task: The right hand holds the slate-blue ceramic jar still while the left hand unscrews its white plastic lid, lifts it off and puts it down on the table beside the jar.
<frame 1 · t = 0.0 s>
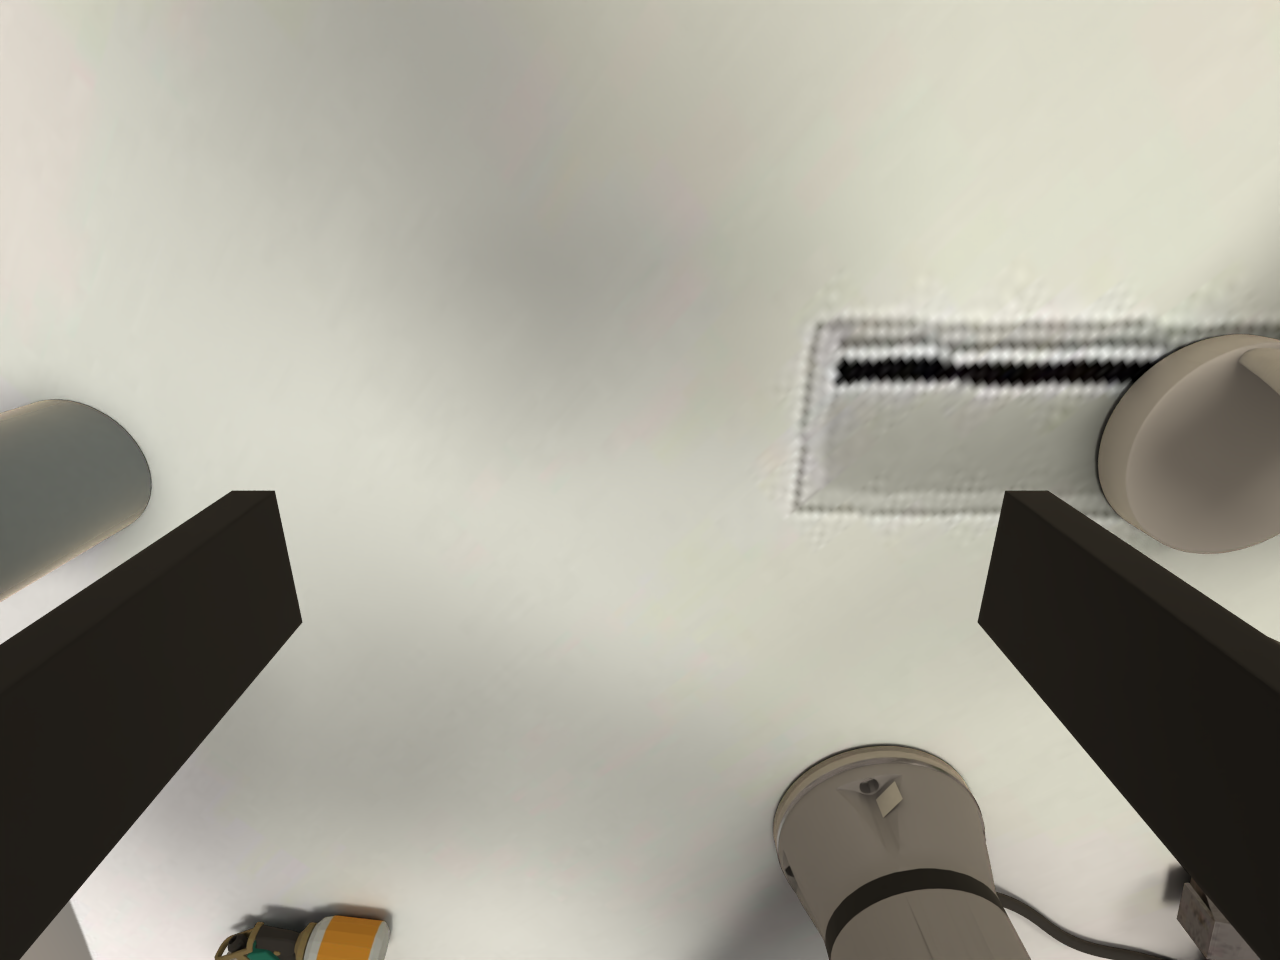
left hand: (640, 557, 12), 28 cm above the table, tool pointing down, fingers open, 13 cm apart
bust sculpture: (1214, 377, 40), on the table
jar: (78, 468, 42), on the table
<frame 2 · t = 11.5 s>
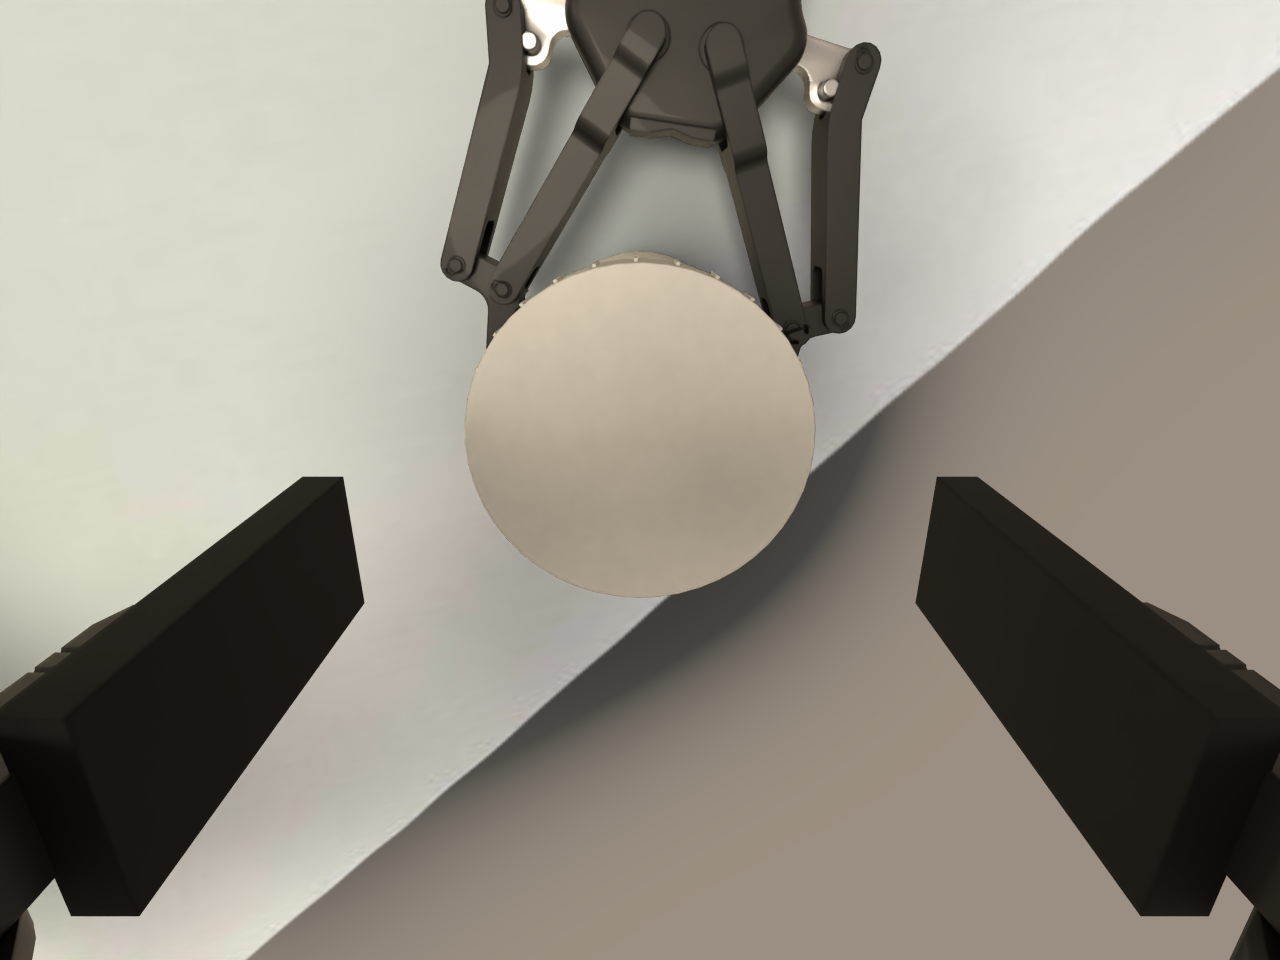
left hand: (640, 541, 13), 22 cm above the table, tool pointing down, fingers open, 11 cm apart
right hand: (626, 469, 30), fingers closed on jar, 9 cm apart
lid: (640, 441, 19), point 16 cm above the table, screwed on, not yet turned
jar: (640, 343, 34), on the table, touching right hand
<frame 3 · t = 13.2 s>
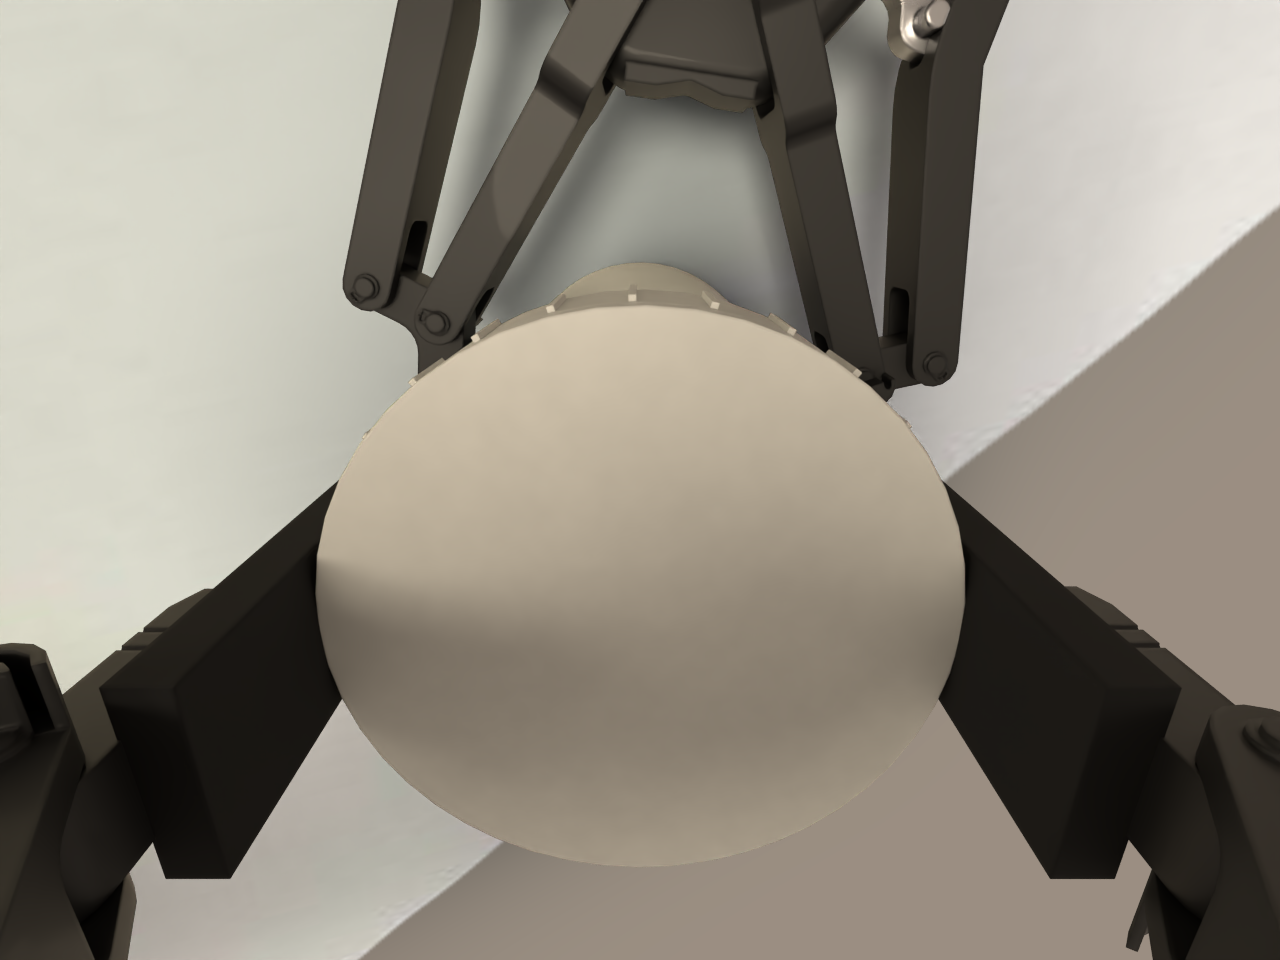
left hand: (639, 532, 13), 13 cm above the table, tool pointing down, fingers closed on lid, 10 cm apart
right hand: (621, 568, 21), fingers closed on jar, 9 cm apart
lid: (640, 622, 10), point 16 cm above the table, screwed on, not yet turned, touching left hand
jar: (640, 383, 26), on the table, touching right hand
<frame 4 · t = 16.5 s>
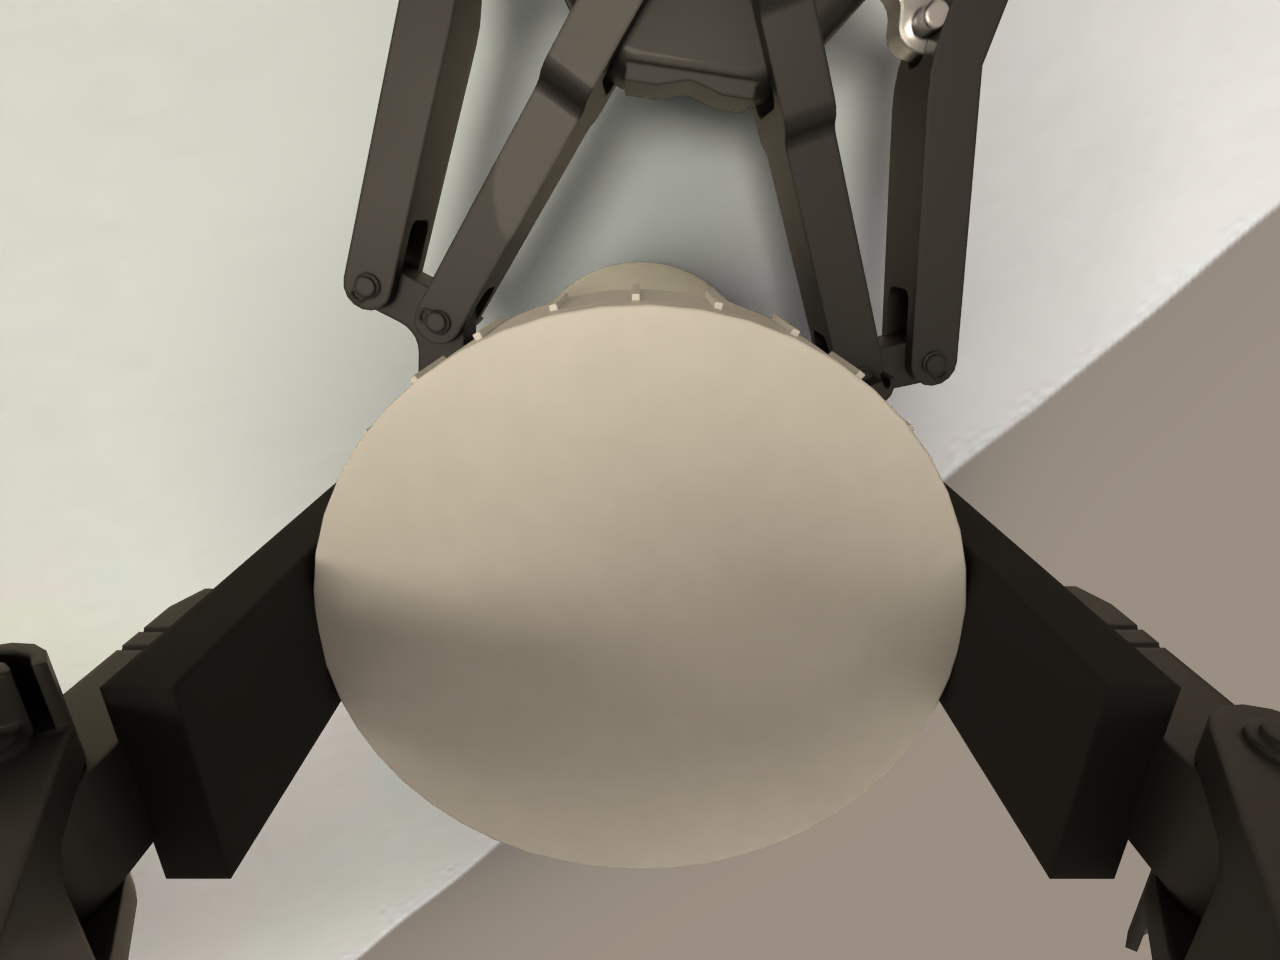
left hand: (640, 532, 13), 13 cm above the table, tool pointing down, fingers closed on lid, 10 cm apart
right hand: (621, 566, 22), fingers closed on jar, 9 cm apart
lid: (640, 622, 10), point 16 cm above the table, turned 89° so far, risen 0.1 cm, still on its thread, touching left hand
jar: (640, 383, 26), on the table, touching right hand
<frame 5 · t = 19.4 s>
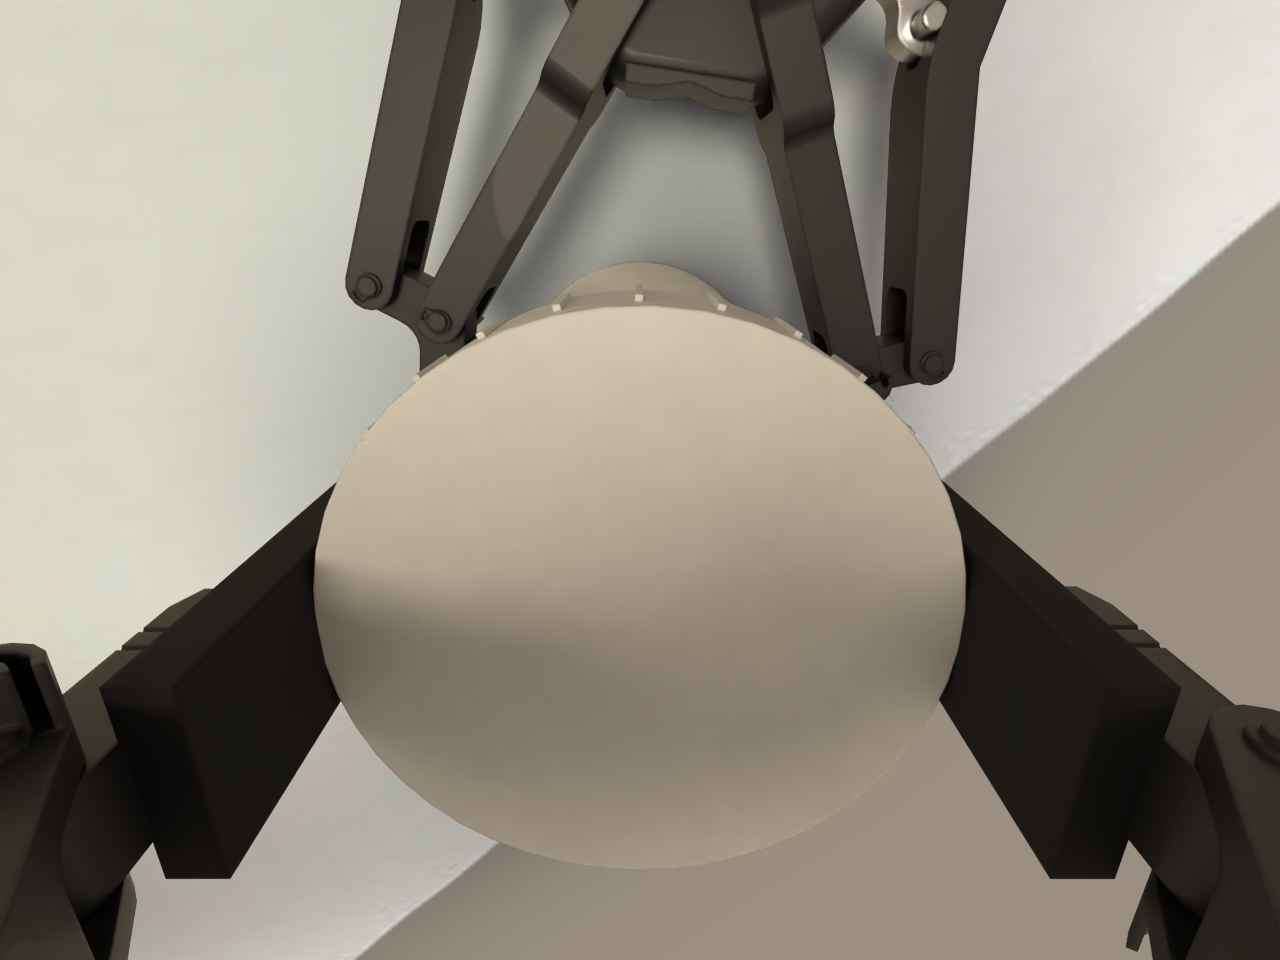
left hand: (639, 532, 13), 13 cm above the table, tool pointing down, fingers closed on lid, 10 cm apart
right hand: (620, 565, 22), fingers closed on jar, 9 cm apart
lid: (639, 623, 10), point 16 cm above the table, turned 179° so far, risen 0.2 cm, still on its thread, touching left hand
jar: (640, 382, 26), on the table, touching right hand
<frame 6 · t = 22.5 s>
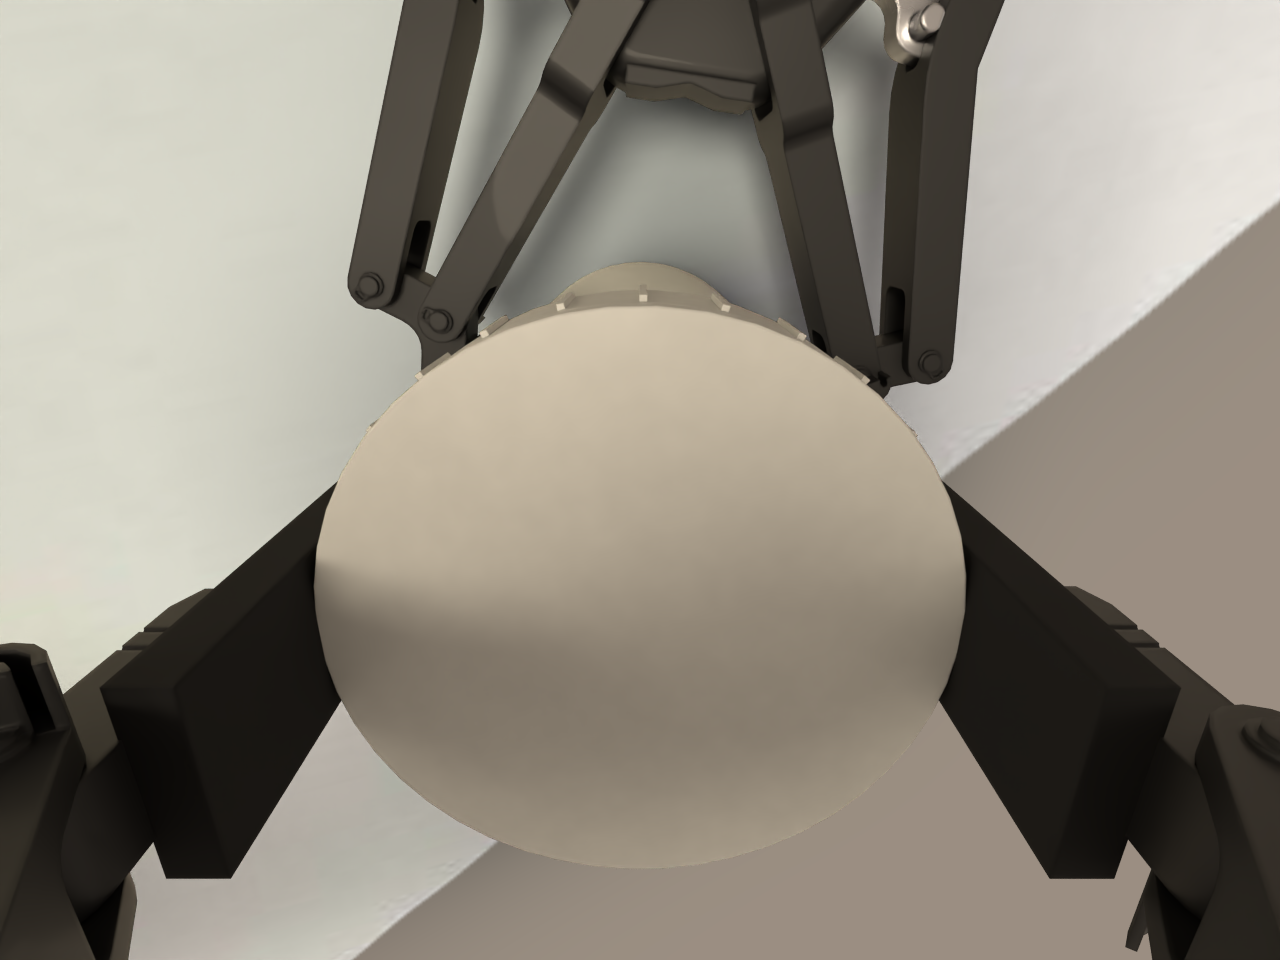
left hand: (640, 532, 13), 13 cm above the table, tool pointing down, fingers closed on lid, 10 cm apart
right hand: (621, 563, 22), fingers closed on jar, 9 cm apart
lid: (640, 623, 10), point 17 cm above the table, turned 268° so far, risen 0.3 cm, still on its thread, touching left hand
jar: (640, 382, 26), on the table, touching right hand
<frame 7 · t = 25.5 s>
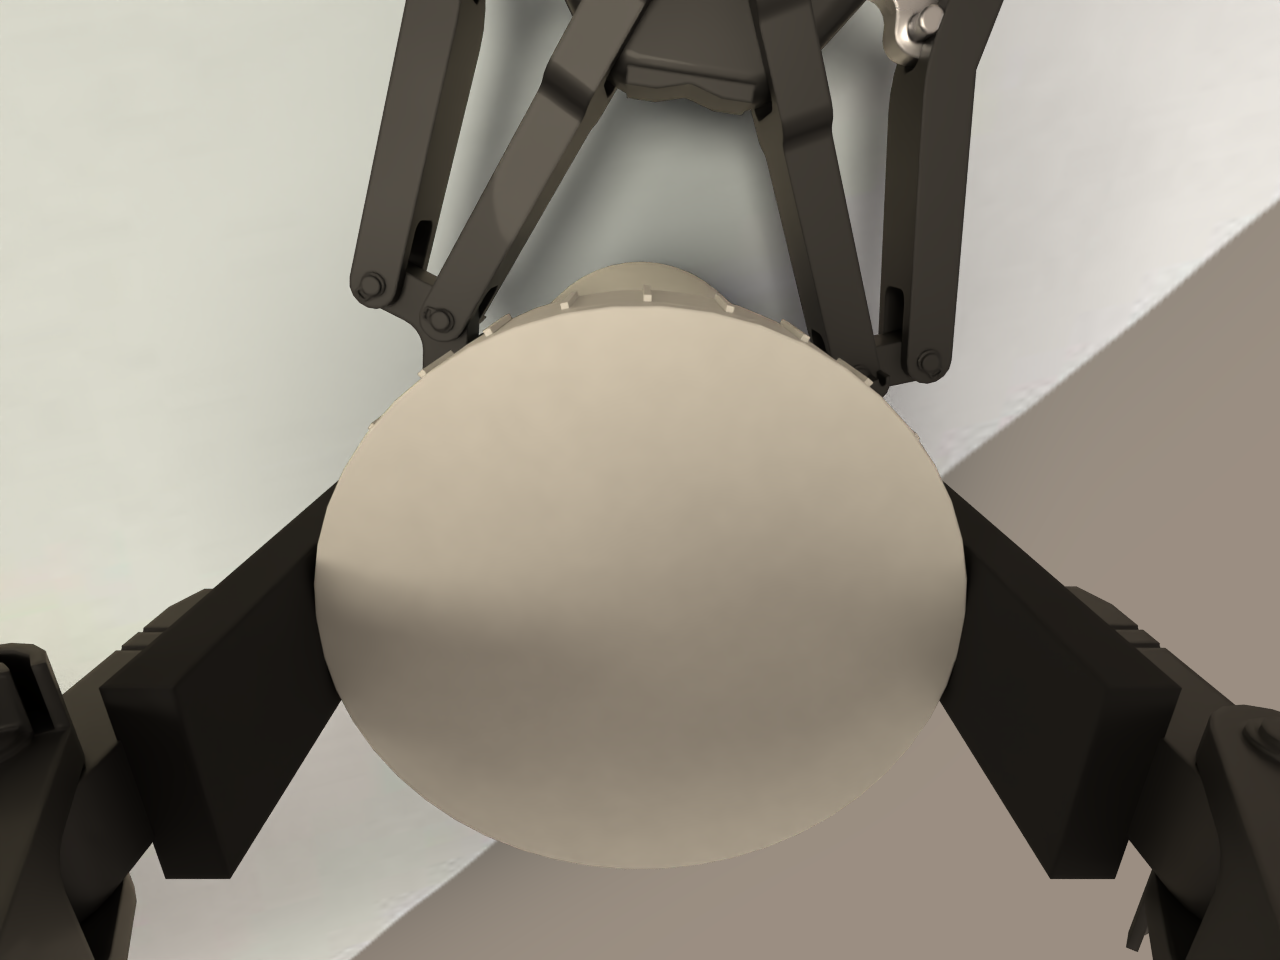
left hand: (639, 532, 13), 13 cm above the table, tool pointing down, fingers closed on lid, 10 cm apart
right hand: (621, 562, 22), fingers closed on jar, 9 cm apart
lid: (640, 623, 10), point 17 cm above the table, turned 358° so far, risen 0.4 cm, still on its thread, touching left hand
jar: (640, 381, 26), on the table, touching right hand
when the left hand's fingers open (0 cm above the table, at t = 31.3 s): lid drops 2 cm, point 2 cm above the table.
when the right hand's fingers open (6 cm above the table, at t = 32.4 s): jar stays where it is, on the table.
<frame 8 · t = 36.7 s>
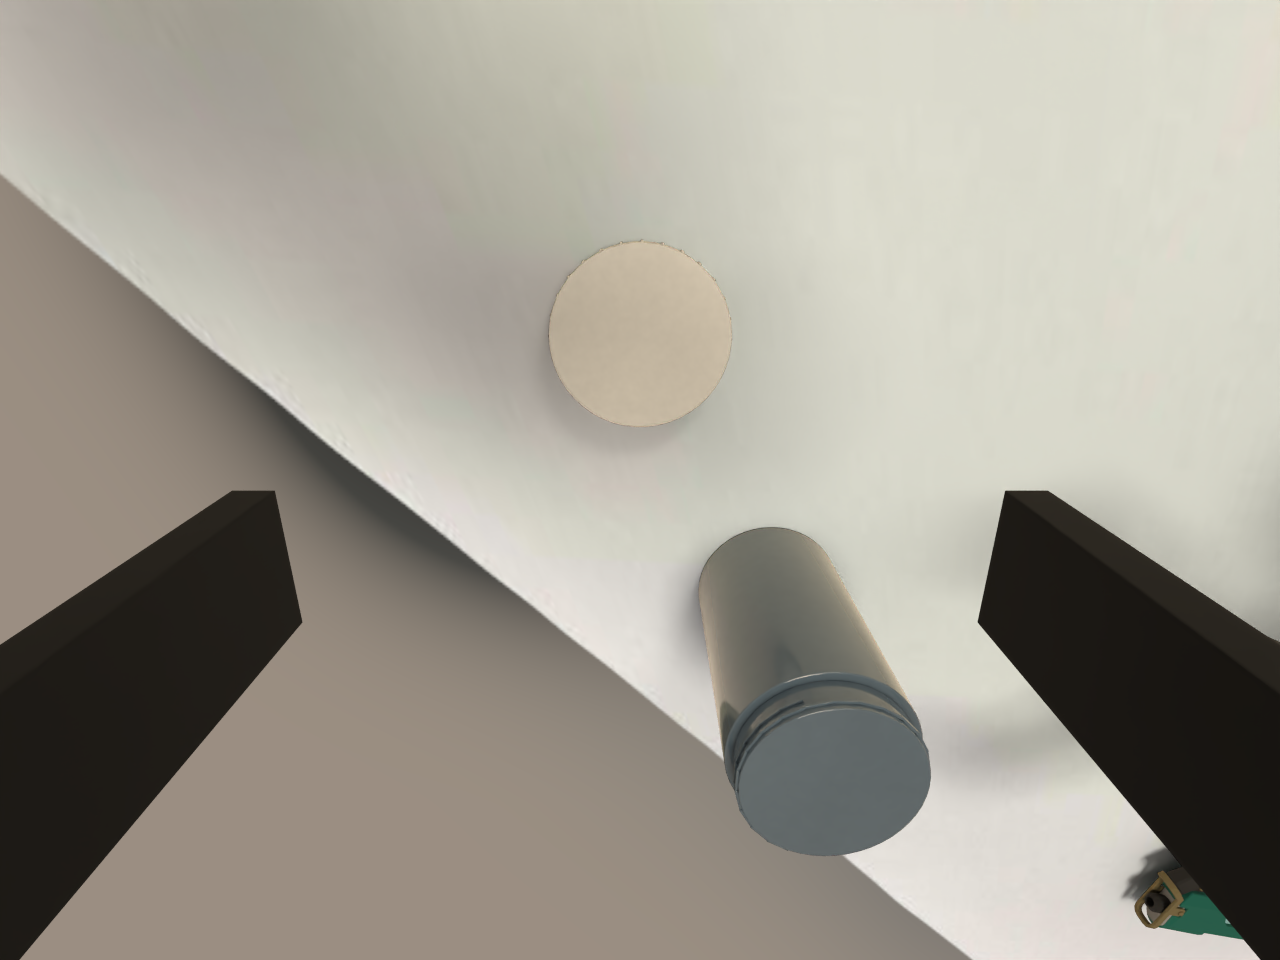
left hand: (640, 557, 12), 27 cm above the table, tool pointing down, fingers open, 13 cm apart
spray gun: (1253, 867, 52), on the table
lid: (640, 338, 36), point 2 cm above the table, off its thread
jar: (766, 589, 43), on the table
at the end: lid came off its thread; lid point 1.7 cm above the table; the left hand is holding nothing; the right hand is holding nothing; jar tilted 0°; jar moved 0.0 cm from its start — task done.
